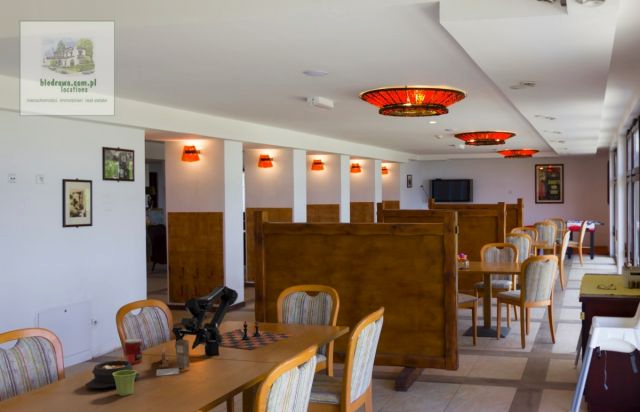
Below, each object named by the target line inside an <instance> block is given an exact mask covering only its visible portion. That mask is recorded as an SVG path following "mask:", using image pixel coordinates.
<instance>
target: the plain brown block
mask: <svg viewBox="0 0 640 412" xmlns="http://www.w3.org/2000/svg"><path fill="white" fill-rule="evenodd" d="M175 342H176V347H175V357H176V358H175V359H176V362H175V363H176V364H175V365H176V368H179V369H183V368H184V369H187V368H189V367H190V341H189V339H183V340H178V341H176V340H175ZM184 369H183V370H184Z"/></svg>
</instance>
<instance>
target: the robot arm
mask: <svg viewBox="0 0 640 412" xmlns="http://www.w3.org/2000/svg"><path fill="white" fill-rule="evenodd" d="M238 297H239V293H238V292H237V290H235V289H232V288H231V287H228V286H227V285H217V286H216V288H214V289H213V290H211V292H209V294H207V295H205V296H201V297H200V298H197V297H196V296H195V297H191V298H190V299H188V300H187V301H186V302H185V303H184V307H185V309H186V310H187V312H188V314H190V315H191V318H188V317H182V318H181V321H180V325H181V326H173V327H172V328H171V332H172V334H173V336H175V343H174V344H175V345H174V347H175V348H176V341H178V340H184V337H185V335H189V336H195V339H194V341H193V343H192V346H191V350H194V349H196V348H197V347H198V346H199V345H202V344H201V343H202V342H203V343H204V342H205V343H206V344H204V354H205V356H206V357H210V356H220V350H219V349H220V346H219V343H221V342H222V337H221V335H220V333H221V332H220V325H221V324H222V321H223V320H224V317H225V315H226V314H227V311H228V309H229V307H231V306H232V305H234V304H235V302H237V300H238ZM217 300H220V303H219V305H218V307H217V308H216V311H215V313H214V315H213V316H212V319H211V321H210V322H207V323H206V322H205V323H204V324H203V321H204V320H205V319H208V315H207V312H205V311H210V310H212V308H213V307H214V303H215V302H216V301H217ZM202 324H203V325H202ZM182 326H184V327H182ZM183 328H184V329H183Z"/></svg>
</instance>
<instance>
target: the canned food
mask: <svg viewBox="0 0 640 412" xmlns="http://www.w3.org/2000/svg"><path fill="white" fill-rule="evenodd" d="M142 341H143V340H142V338H135V337H134V338H128V339H125V341H124V348H125V349H124V351H125V355H124V356H125V361H128V362H130V363H131V365H138V364H141V363H142V362H143V342H142Z"/></svg>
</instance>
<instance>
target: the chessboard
mask: <svg viewBox="0 0 640 412" xmlns="http://www.w3.org/2000/svg"><path fill="white" fill-rule="evenodd" d="M259 324H260V321H259V320H258V321H257V320H256V321H254V328H255V331H256V332H254V333H251V332H248V333H247V330H249V329H248V323H247V321H246V320H245V321H244V322H243V326H242V327H243V328H238V329H239V330H238V329H235V330H231V331H228V332H224V333H221V334H220V333H219V334H220V335H221V337H222V342H221V343H219V347H224V348H231V349H240V350H247V349H248V351H254V350H257V349H259V348H262V347H265V346H268V345H271V344H275V343H276V342H279V341H283V340H285V339H288V338H290V337H293V336H295V334H291V333H290V334H289V333H282V334H271V333H268V332H269V331H264V330H263V331H262V330H259V328H260V326H259ZM241 329H243V330H244V332H242V331H241ZM258 331H259V332H258ZM260 331H261V332H260ZM200 345H206V343H205V342H204V343H203V342H202V343H201V344H200Z"/></svg>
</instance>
